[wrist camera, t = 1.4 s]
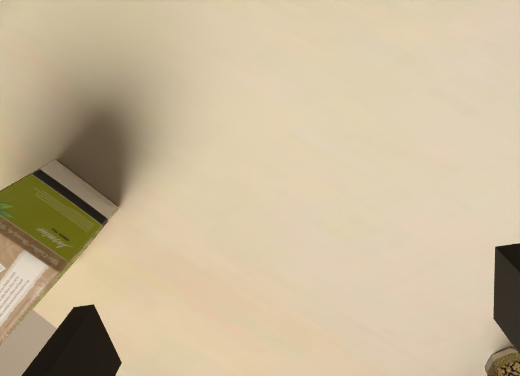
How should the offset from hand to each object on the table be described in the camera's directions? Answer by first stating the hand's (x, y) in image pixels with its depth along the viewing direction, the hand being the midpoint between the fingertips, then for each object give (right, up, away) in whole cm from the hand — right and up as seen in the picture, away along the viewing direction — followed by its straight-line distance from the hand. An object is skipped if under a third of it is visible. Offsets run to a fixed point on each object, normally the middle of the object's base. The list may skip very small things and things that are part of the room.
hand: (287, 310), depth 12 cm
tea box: (-27, 0, +37) cm, 46 cm away
